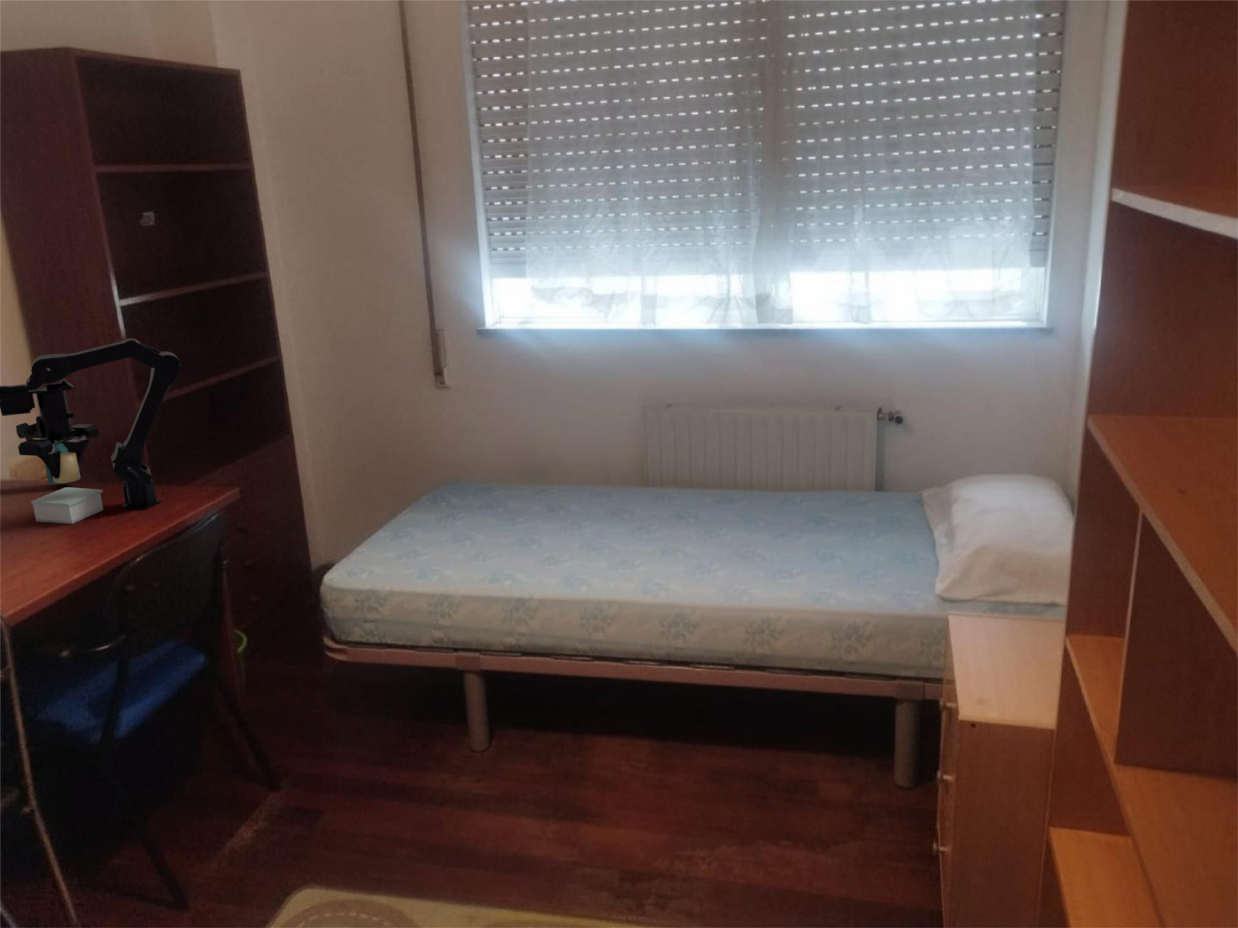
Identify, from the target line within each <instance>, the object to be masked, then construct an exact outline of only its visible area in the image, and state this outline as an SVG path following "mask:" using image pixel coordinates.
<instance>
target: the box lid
mask: <svg viewBox="0 0 1238 928" xmlns="http://www.w3.org/2000/svg"><path fill="white" fill-rule="evenodd" d="M101 493H104V490H103V489H98V488H97V489H96V488H82V487H81V488H80V487H69V486H68V487H67V486H66V487H63V488H61V489H58V490H56V491H54V492H51V493H48V494H46V495H45V494H44V495H43V496H40V497H39V498H35V499H33V500H31V501H30V504H32V505H33V504H43V505H57V506H71V505H74V504H76V503H78V502H81V501H83V500H85V499H88V498H90V497H92V496H95V495H97V494H101Z"/></svg>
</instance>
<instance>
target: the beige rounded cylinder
mask: <svg viewBox="0 0 1238 928" xmlns="http://www.w3.org/2000/svg"><path fill="white" fill-rule="evenodd" d="M53 479H54V482H55V483H64V484H68V482H69V483H72V482H76V481H78V480H80V479H81V474H80V467H79V468H78V462H77V457H76V453H74V452H64V453H61V456H60V477H59V478H58V479H56V478H54V477H53Z"/></svg>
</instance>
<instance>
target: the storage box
mask: <svg viewBox="0 0 1238 928" xmlns="http://www.w3.org/2000/svg"><path fill="white" fill-rule="evenodd" d="M32 506H33V512H34V517H35V521H36V522H40V523H55V524H66V525H67V524H69V525H70V524H71V525H74V524H75V523H77V522H80V521H83V520H85V519H86V518H89V517H90V516H94V515H96V514H97V513H99V512H102V511H104V507H103V500H102V494H101V493H100V494H97V495H95V496H92V497H90V498H88V499H85V500H83V501H81V502H78V503H76V504H74V505H71V506H57V505H43V504H32Z"/></svg>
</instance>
